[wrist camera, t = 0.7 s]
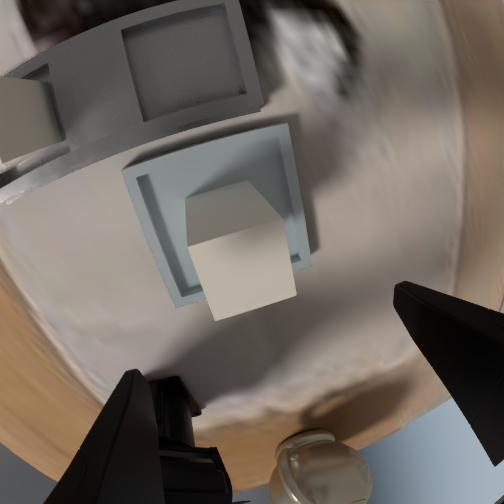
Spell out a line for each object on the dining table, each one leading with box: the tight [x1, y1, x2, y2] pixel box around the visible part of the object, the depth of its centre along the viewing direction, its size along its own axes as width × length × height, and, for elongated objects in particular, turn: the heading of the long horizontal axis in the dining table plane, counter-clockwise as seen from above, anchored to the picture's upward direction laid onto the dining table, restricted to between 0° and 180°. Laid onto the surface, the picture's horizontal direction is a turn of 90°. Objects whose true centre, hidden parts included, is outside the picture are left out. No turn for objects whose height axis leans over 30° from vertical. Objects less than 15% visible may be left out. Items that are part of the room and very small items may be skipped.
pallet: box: [0, 0, 265, 205], centre depth 14 cm, size 8×17×2 cm, turn 103°
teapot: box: [269, 429, 372, 504], centre depth 29 cm, size 18×14×16 cm
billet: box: [185, 180, 297, 321], centre depth 16 cm, size 4×4×7 cm
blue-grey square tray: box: [121, 122, 312, 308], centre depth 19 cm, size 10×10×1 cm
